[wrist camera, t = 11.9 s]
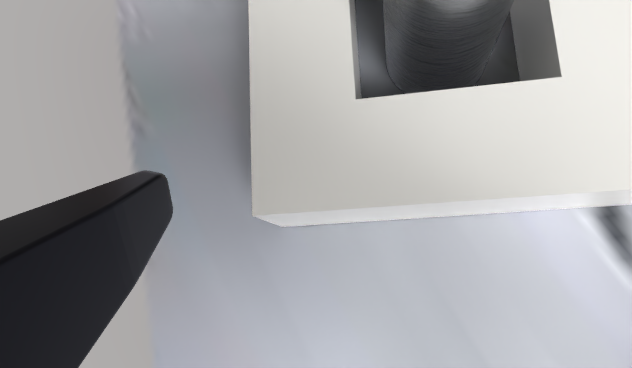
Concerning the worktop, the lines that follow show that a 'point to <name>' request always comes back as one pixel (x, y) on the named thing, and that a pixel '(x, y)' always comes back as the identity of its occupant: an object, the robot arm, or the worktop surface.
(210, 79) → the worktop surface
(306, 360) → the worktop surface
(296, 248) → the worktop surface
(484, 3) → the long pin
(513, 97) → the hole block
